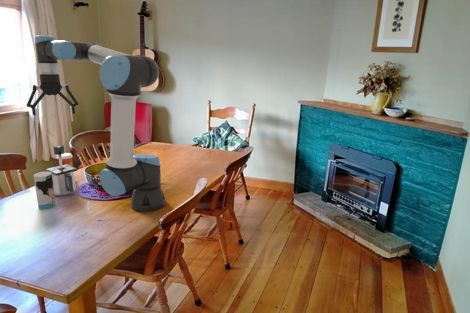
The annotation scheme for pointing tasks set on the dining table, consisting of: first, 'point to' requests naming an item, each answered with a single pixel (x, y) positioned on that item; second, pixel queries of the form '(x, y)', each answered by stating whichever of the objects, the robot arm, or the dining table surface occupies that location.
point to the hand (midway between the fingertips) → (55, 121)
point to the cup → (44, 190)
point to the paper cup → (66, 159)
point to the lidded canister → (63, 180)
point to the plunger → (59, 154)
